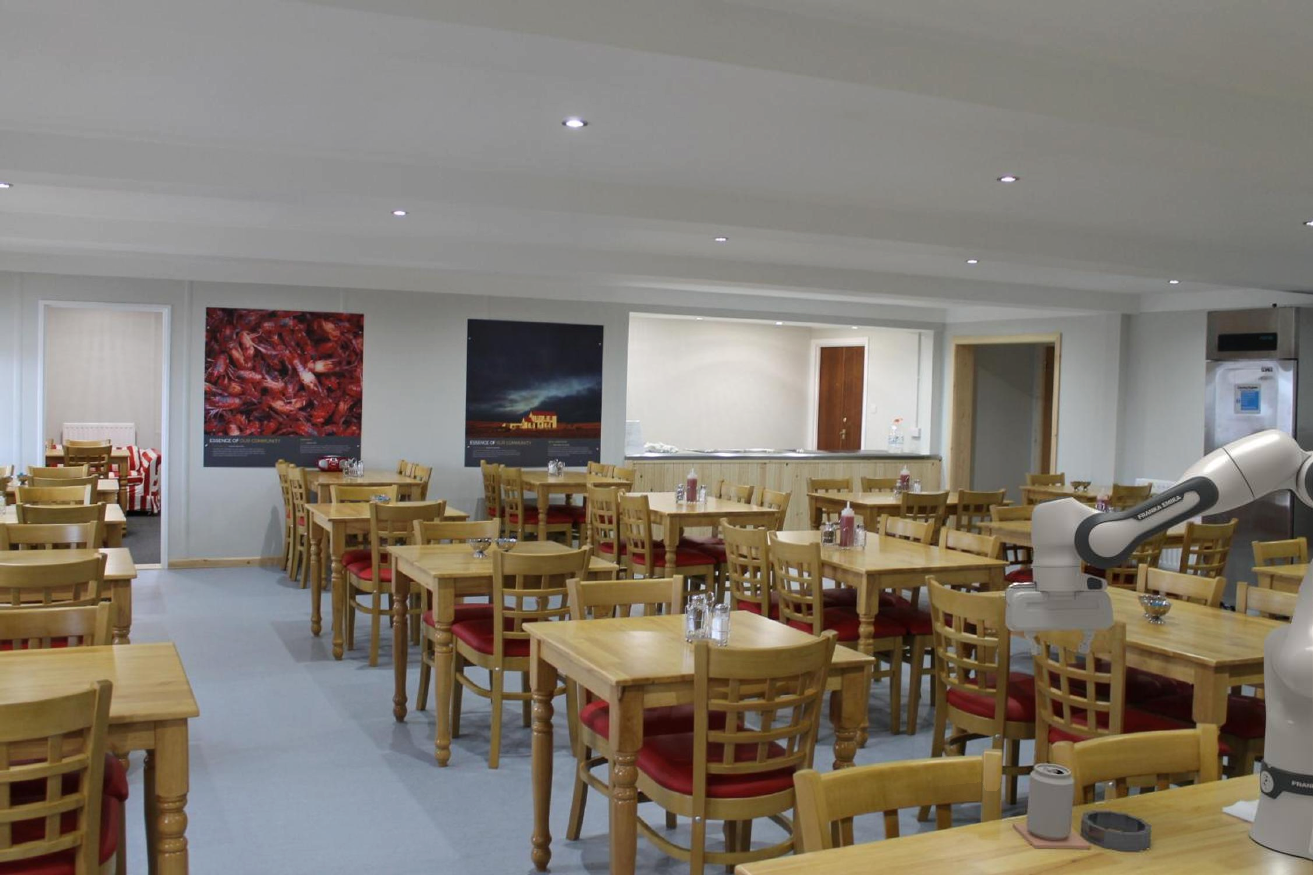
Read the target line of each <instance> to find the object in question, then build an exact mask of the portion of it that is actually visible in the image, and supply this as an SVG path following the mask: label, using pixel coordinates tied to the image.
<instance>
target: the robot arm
mask: <svg viewBox="0 0 1313 875" xmlns="http://www.w3.org/2000/svg"><path fill="white" fill-rule="evenodd" d="M1277 490H1278V491H1279V490H1286V491H1288V492H1289V493H1290V494H1291V495H1292V496H1293V497H1294V498H1295V499H1297V500H1298V501H1299V502H1300V503H1302V504H1304V505H1306V506H1308V507H1310V508H1312V509H1313V450H1306V449H1305V450H1304V449H1303V448H1301V447H1300V445H1299V443H1298V442H1297V441H1296V440H1295V438H1293V436H1291V435H1290V434H1289V433H1287V432H1285V431H1283V430H1281V429H1277V428H1275V429H1274V428H1272V429H1270V428H1269V429H1266V430H1263V431H1259V432H1256V433H1253V434H1251V435H1248V436H1245V437H1242V438H1239V439H1237V440H1235V441H1232V442H1230V443H1228V444H1227V443H1226V444H1225V445H1224V446H1221V447H1219V448H1216V449H1215V450H1214V451H1212V452H1210V453H1208V454H1207V455H1205V456H1203V457H1202V458H1200V459H1199V460H1197V461H1195V463H1193V464H1192V465H1191V466H1190V467H1188V468H1187V469H1186V470H1185V472H1184V473H1183V475H1181V477H1180V478H1179V479H1178V480H1177V481H1176V482H1175V483H1174V484H1172V485H1171V486H1170V487H1169V488H1167V489H1165V490H1164V491H1162V492H1160V493H1158V494H1156V495H1154V496H1152V497H1150V498H1148V499H1146V500H1144V501H1142V502H1140V503H1138V504H1136V505H1134V506H1132V507H1129V508H1127V509H1125V510H1121V511H1118V512H1105V511H1101V510H1098V509H1095V508H1094V507H1090V506H1088V505H1086V504H1084V503H1082V502H1080V501H1078V500H1077V499H1075V498H1074V497H1073V496H1067V495H1066V496H1059V497H1054V498H1049V499H1045V500H1041V501H1040V502H1038V503H1037V504H1036V505H1035V506H1034V508H1033V509H1032V514H1031V523H1030V527H1031V528H1030V531H1031V533H1030V535H1031V536H1030V540H1031V546H1032V548H1033V549H1032V550H1033V560H1032V581H1027V582H1026V581H1025V582H1018V581H1017V582H1016V581H1015V582H1012V583H1011V584H1009V585H1008V586H1007V587H1006V588H1005V590H1004V595H1005V596H1004V597H1005V598H1004V600H1005V603H1006V605H1005V606H1006V607H1005V617H1004V619H1005V620H1004V621H1005V627H1006V628H1007V629H1008V630H1010V631H1011V632H1024V633H1023V634H1024V635H1023V637H1024V638H1025V639H1026V640H1027V642H1028V644H1029V645H1030V652H1031V655H1032V656H1033V655H1034V656H1037V655H1038V656H1040V655H1043V651H1042V650H1043V647H1042V645H1040V644H1038V643H1037V642H1036V640H1035V637H1036V636H1037V635H1036V632H1039V631H1040V632H1041V631H1042V632H1044V631H1047V632H1049V631H1076V630H1082V634H1084V638H1083V640H1082V642H1078V643H1077V647H1078V652H1079V653H1080V654H1090V653H1091V652H1090V651H1091V648H1090V647H1091V646H1090V644H1092V642H1093V640H1094V637H1095V635H1096V630H1106V629H1111V627H1112V626H1113V624H1114V611H1113V604H1112V599H1111V596H1110V594H1109V593H1108V592H1107V589H1108V586H1109V585H1108V581H1107V580H1106V579H1105V578H1102V577H1098V576H1094V575H1093V574H1089V573H1084V572H1082V561H1084V562H1085V564H1088V565H1089V566H1091V567H1093V568H1097V569H1101V570H1109V569H1113V568H1116V567H1119V566H1121V565H1122V564H1124V563H1125V562H1126V561H1127V560H1128V559H1129V558H1130V557H1131V556H1132V555H1133V553H1134V552H1135V551H1136V549H1137V548H1138V547H1139V546H1140V545H1142V544H1143V543H1144V542H1146V541H1148V540H1150V539H1151V538H1153V537H1155V536H1157V535H1159V534H1161V533H1163V532H1166V531H1167V530H1169V529H1171V528H1173V527H1176V526H1177V525H1179V524H1182V523H1183V522H1186V521H1188V520H1191V519H1196V518H1199V517H1203V516H1204V517H1205V516H1211V515H1215V514H1216V515H1217V514H1221V513H1223V512H1224V513H1225V512H1228V511H1230V510H1233V509H1236V508H1238V507H1243V506H1245V505H1246V504H1249V503H1251V502H1253V501H1254V500H1257V499H1259V498H1262V497H1263V496H1265V495H1267V494H1268V493H1271V492H1275V491H1277ZM1263 680H1264V682H1263V684H1264V699H1265V700H1264V702H1265V716H1266V717H1265V733H1264V734H1265V735H1264V752H1263V754H1264V755H1263V758H1262V759H1261V761H1260V771H1259V790H1260V791H1259V792H1260V794H1259V799H1258V805H1257V808H1256V812H1255V816H1254V819H1253V822H1252V825H1251V828H1250V829H1249V832H1248V835H1249V836H1250V838H1251V839H1252V840H1253V841H1255V842H1257V843H1259V844H1260V845H1262V846H1263V847H1267V848H1270V849H1271V850H1274V851H1278V852H1281V853H1284V854H1289V855H1293V856H1298V857H1302V858H1306V859H1309V860H1311V861H1313V558H1312V559H1311V561H1310V564H1309V565H1308V568H1307V569H1306V572H1305V574H1304V576H1303V579H1302V581H1301V583H1300V585H1299V587H1298V591H1297V600H1296V604H1295V608H1294V611H1293V616H1292V619H1291V623H1287V624H1282V625H1279V626H1277V627H1275V628H1274V629H1272V630H1271V631H1270V632H1269V633H1268V634H1267V636H1266V637H1265V640H1264V643H1263Z"/></svg>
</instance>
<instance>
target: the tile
mask: <svg viewBox="0 0 1313 875" xmlns="http://www.w3.org/2000/svg"><path fill="white" fill-rule="evenodd" d="M1012 827H1013V828H1014V830H1016V831H1017V833H1019V834H1020V835H1021V836H1022V837H1023V838H1024V839H1025V840H1026V841H1027V842H1028V843H1029V844H1030V845H1031V844H1032V845H1031V846H1032V847H1033V848H1034V849H1050V848H1052V849H1053V848H1054V849H1055V848H1056V849H1059V850H1061V849H1064V850H1067V849H1068V850H1091V848H1092V847H1091V845H1090V844H1089V843H1088V841H1087V840H1086V839H1085V838H1082V836H1081V835H1079V834H1077V832H1076V831H1074V829H1072V828H1071V833H1070V835H1069V836H1067V837H1065V839H1062V840H1047V839H1043V838H1040V837H1037V836H1035V835H1034V834H1032V833H1031V831H1030V830H1029V829H1028V828H1027V823H1015V822H1014V823H1012ZM1069 848H1070V849H1069ZM1076 848H1077V849H1076ZM1054 849H1053V850H1054Z"/></svg>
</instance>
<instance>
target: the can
mask: <svg viewBox="0 0 1313 875" xmlns="http://www.w3.org/2000/svg"><path fill="white" fill-rule="evenodd" d="M1071 774H1072V771H1071V769H1069V768H1067V767H1065V766H1062V765H1060V764H1059V765H1058V764H1055V763H1045V762H1044V763H1037V764H1035V765H1034V769H1033V770H1032V771H1031V772H1030V774H1029V784H1028V785H1029V786H1028V796H1027V797H1028V800H1027V801H1028V802H1027V811H1026V812H1027V814H1026V824H1027V828H1028V829H1029V830H1030V831H1031V833H1032V834H1034V835H1035V836H1037V837H1040V838H1043V839H1047V840H1062V839H1065V837H1067V836H1069V835H1070V833H1071V829H1072V821H1073V820H1072V819H1073V806H1074V805H1073V803H1074V793H1075V791H1074V790H1075V779H1074V778H1073V776H1071Z"/></svg>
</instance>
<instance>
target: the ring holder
mask: <svg viewBox="0 0 1313 875" xmlns="http://www.w3.org/2000/svg"><path fill="white" fill-rule="evenodd" d="M1080 820H1081V822H1080V837H1083V839H1084V840H1085V841H1086V842H1088V841H1089V843H1092V844H1094V845H1096V846H1099V847H1101V848H1103V849H1104V848H1105V849H1109V848H1112V849H1111V850H1114V849H1115V851H1119V850H1120V851H1121V852H1142V851H1141V850H1143V851H1145V849H1146V850H1148V849H1147V848H1149V849H1150V848H1151V843H1152V842H1151V840H1152V839H1151V837H1152V825H1151V824H1150V823H1148V822H1147V821H1145V820H1144V819H1143V818H1140V817H1137V816H1134V815H1131V814H1129V813H1124V812H1118V811H1114V810H1091V811H1090V810H1089V811H1085V812H1083V813H1082V816H1081V819H1080ZM1106 828H1110V829H1106ZM1114 829H1116V830H1114ZM1119 830H1121V831H1119ZM1120 851H1119V852H1120Z"/></svg>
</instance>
